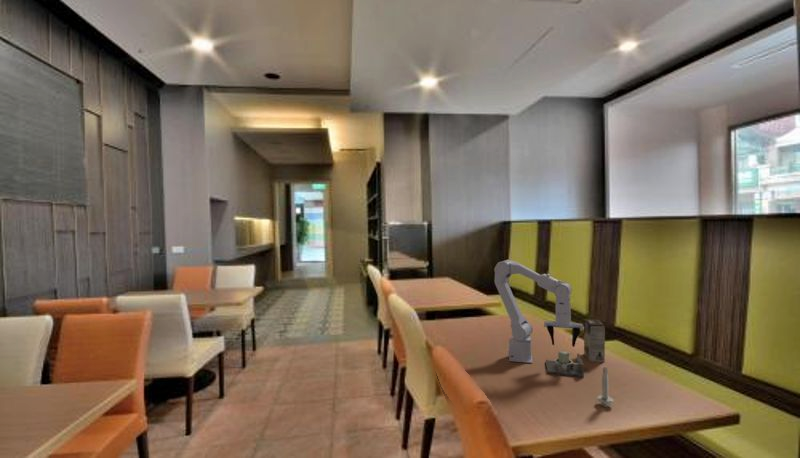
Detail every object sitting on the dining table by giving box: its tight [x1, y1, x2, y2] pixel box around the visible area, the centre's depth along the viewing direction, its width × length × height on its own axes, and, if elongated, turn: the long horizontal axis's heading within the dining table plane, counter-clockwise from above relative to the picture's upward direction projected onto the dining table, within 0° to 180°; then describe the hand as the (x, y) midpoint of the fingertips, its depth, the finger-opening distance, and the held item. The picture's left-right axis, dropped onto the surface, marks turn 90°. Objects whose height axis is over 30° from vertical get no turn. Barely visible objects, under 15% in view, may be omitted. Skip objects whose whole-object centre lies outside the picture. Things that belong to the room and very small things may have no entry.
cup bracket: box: [545, 353, 585, 378], centre depth 153 cm, size 13×12×5 cm
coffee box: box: [583, 318, 606, 363], centre depth 165 cm, size 9×6×16 cm
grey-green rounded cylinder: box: [557, 350, 570, 364], centre depth 153 cm, size 4×4×6 cm
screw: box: [596, 366, 614, 408], centre depth 124 cm, size 13×5×5 cm
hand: (563, 345), depth 154 cm, fingers open, 7 cm apart
